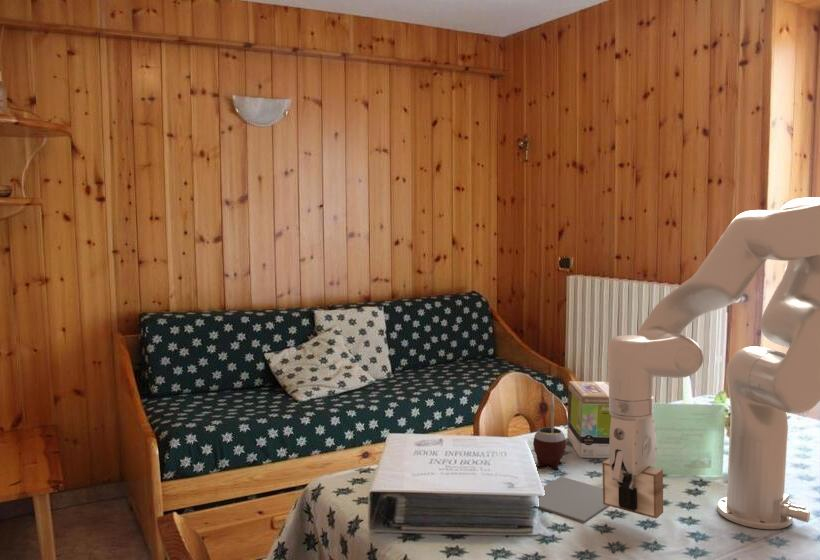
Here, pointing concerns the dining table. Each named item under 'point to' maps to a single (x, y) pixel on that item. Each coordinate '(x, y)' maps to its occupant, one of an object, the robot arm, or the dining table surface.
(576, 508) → the mat
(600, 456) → the tea box
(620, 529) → the dining table surface
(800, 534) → the dining table surface
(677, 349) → the robot arm
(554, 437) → the mate gourd
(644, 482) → the slab
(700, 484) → the dining table surface
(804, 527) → the dining table surface
